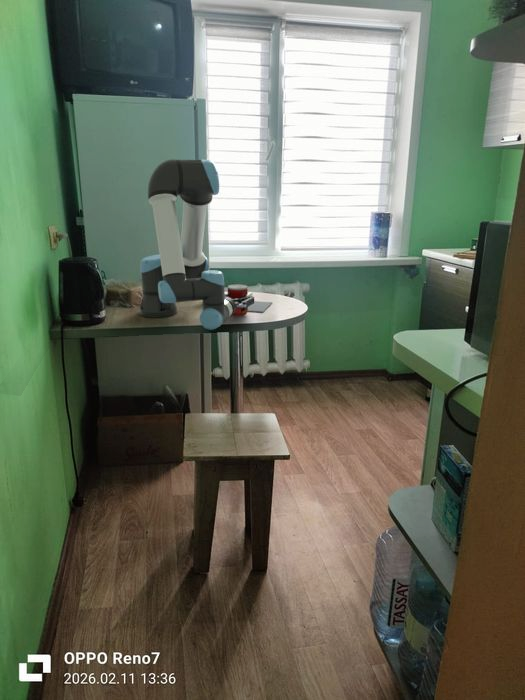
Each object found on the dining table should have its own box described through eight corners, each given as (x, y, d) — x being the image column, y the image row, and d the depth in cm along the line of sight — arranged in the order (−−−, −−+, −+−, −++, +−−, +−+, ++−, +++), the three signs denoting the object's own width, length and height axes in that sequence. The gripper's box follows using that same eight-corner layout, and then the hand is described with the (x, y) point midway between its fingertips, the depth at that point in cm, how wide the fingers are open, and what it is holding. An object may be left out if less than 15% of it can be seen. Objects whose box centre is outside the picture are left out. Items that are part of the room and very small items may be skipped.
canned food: (245, 316, 195) (245, 288, 191) (225, 315, 197) (225, 288, 193) (249, 311, 202) (249, 284, 198) (230, 310, 204) (230, 283, 200)
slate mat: (221, 310, 207) (221, 308, 207) (233, 301, 222) (233, 300, 222) (263, 312, 203) (263, 311, 203) (272, 303, 218) (272, 302, 217)
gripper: (197, 316, 184) (217, 301, 205) (250, 320, 180) (265, 305, 200) (196, 297, 182) (216, 284, 203) (250, 300, 177) (265, 286, 198)
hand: (241, 294), depth 201 cm, fingers closed on canned food, 8 cm apart
